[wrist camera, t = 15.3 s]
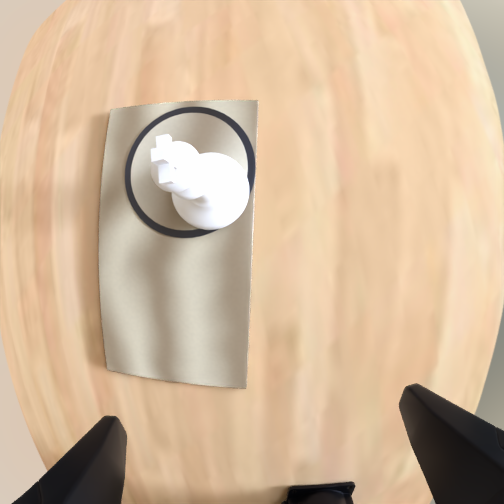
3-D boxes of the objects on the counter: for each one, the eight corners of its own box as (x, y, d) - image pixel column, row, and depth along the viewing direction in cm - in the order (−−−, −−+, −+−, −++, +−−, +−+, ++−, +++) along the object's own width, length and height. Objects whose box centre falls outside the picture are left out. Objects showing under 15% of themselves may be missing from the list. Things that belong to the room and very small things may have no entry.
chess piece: (178, 234, 19) (98, 242, 9) (169, 160, 19) (92, 106, 9) (254, 224, 19) (244, 219, 9) (243, 148, 18) (225, 72, 8)
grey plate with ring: (258, 103, 19) (258, 99, 18) (247, 385, 20) (246, 390, 20) (113, 111, 19) (109, 108, 18) (110, 367, 21) (106, 371, 20)
